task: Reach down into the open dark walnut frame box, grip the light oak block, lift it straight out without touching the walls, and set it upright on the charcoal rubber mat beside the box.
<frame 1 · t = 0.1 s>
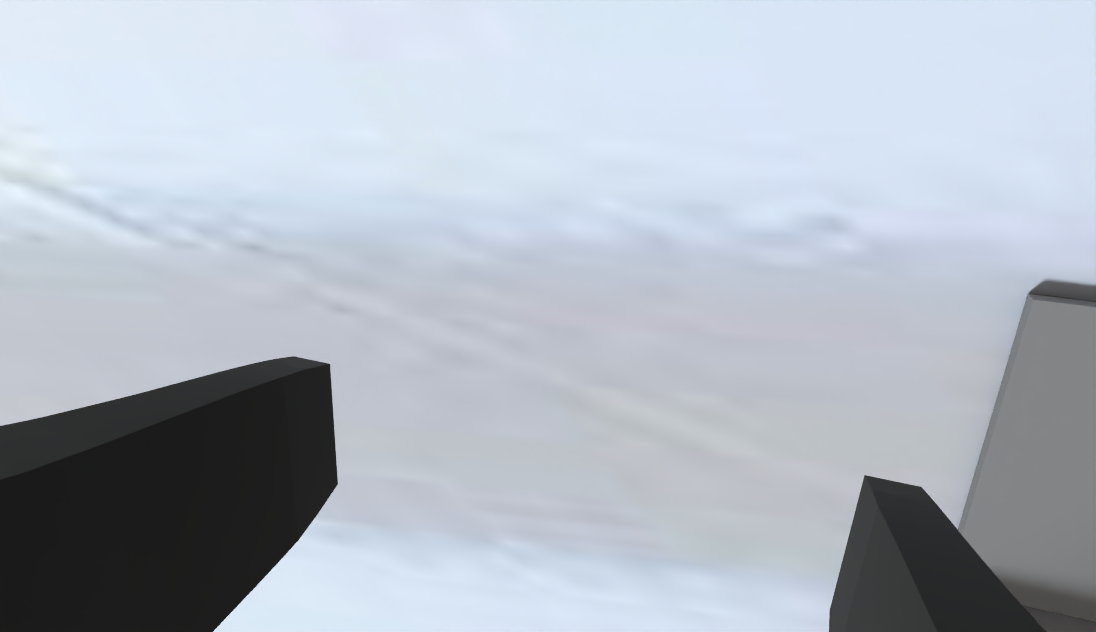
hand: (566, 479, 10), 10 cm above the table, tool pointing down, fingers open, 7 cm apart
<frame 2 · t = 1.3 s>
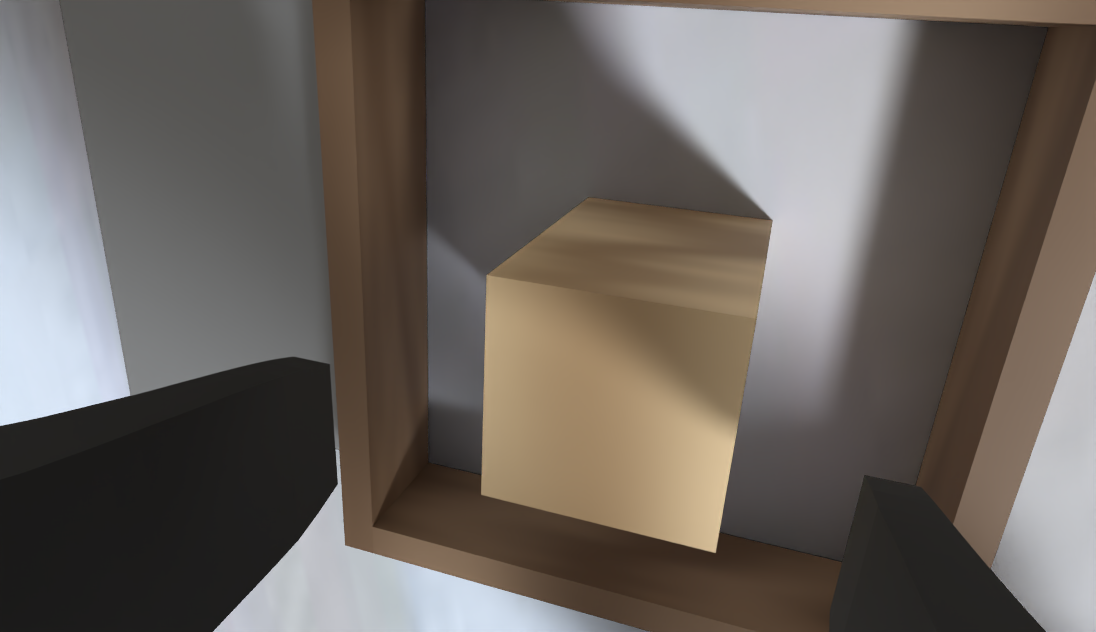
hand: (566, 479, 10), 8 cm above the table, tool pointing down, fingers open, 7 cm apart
oak block: (641, 343, 14), in the frame box
mat: (225, 225, 20), on the table
frame box: (666, 295, 17), on the table
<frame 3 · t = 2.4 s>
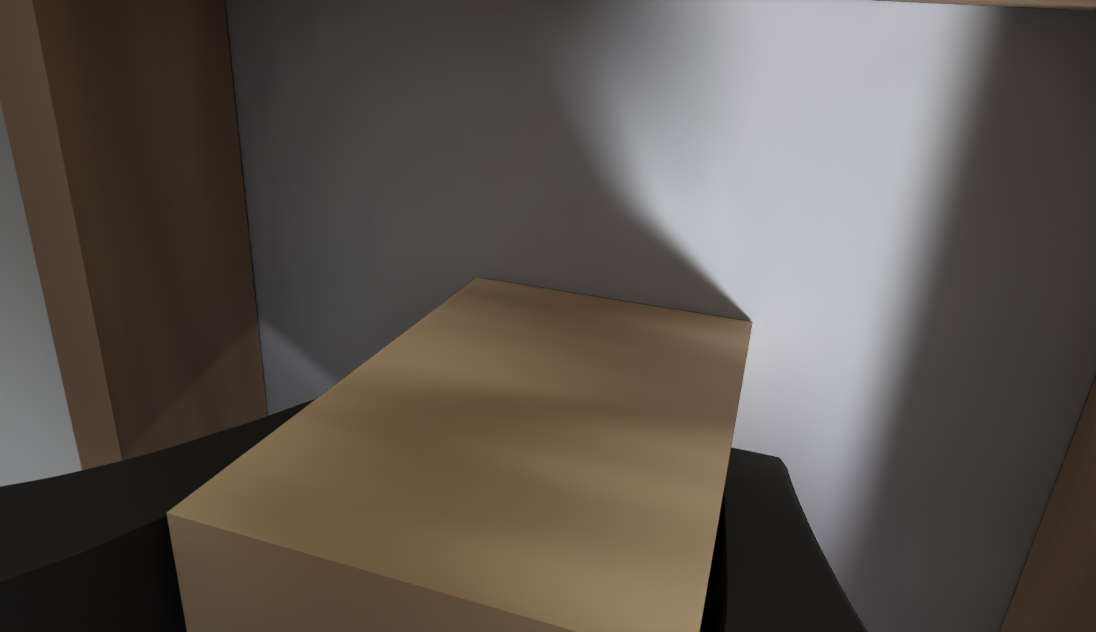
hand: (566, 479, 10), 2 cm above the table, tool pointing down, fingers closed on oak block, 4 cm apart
oak block: (531, 544, 8), in the frame box, touching gripper
mat: (0, 297, 14), on the table
frame box: (596, 422, 11), on the table
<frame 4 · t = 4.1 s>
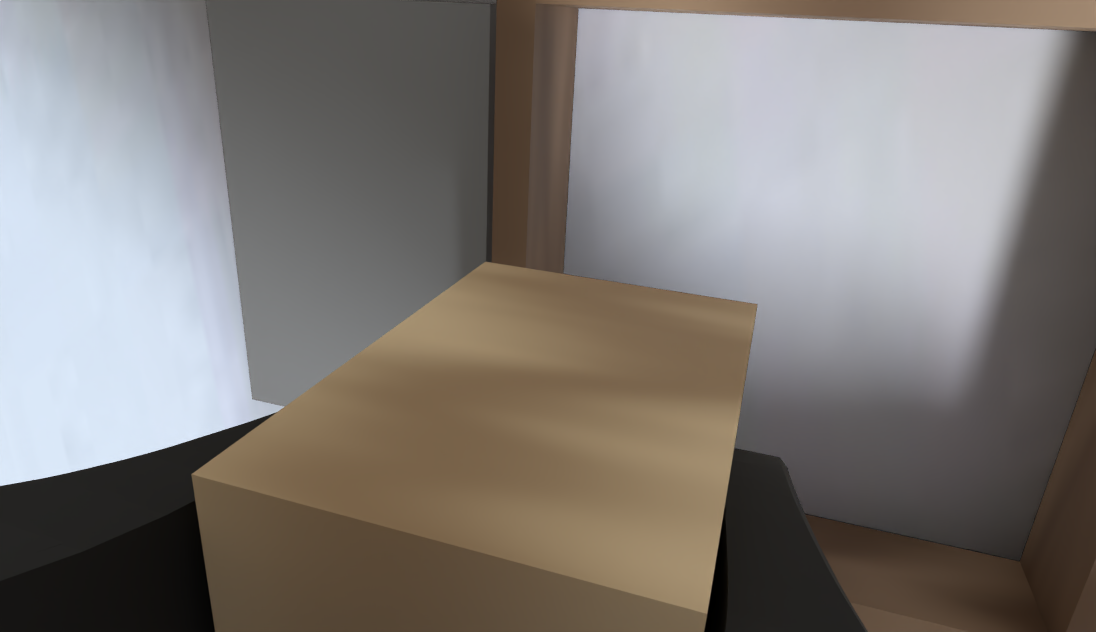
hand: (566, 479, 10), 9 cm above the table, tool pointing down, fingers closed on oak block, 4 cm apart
oak block: (541, 519, 9), point 11 cm above the table, touching gripper
mat: (359, 230, 21), on the table
frame box: (806, 294, 17), on the table
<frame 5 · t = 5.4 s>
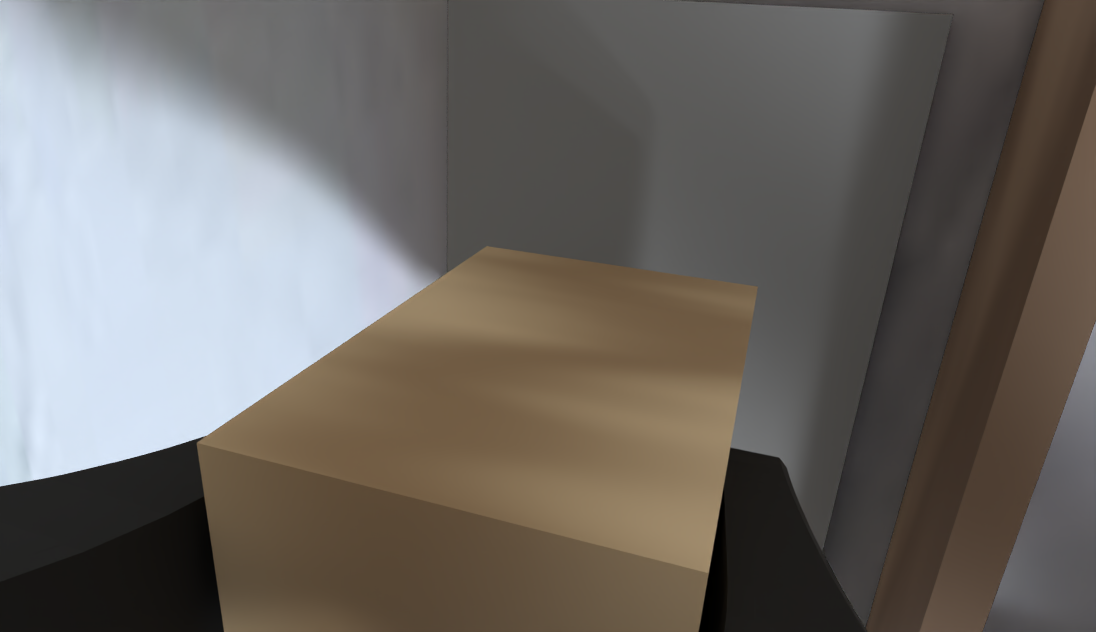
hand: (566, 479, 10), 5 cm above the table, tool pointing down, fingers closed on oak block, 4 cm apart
oak block: (543, 497, 9), point 6 cm above the table, touching gripper
mat: (643, 336, 14), on the table
when the fingers open (3 cm above the table, at t = 6.1 s): oak block drops 1 cm, resting on mat.
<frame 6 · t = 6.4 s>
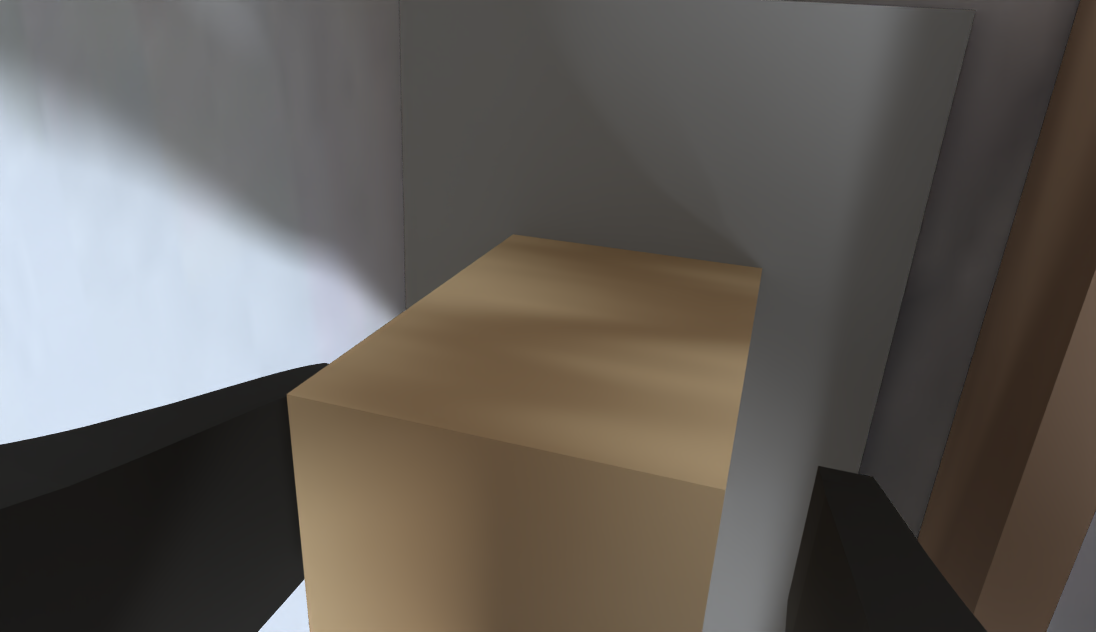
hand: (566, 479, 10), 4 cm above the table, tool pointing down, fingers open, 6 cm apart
oak block: (571, 456, 10), on the mat
mat: (623, 370, 13), on the table
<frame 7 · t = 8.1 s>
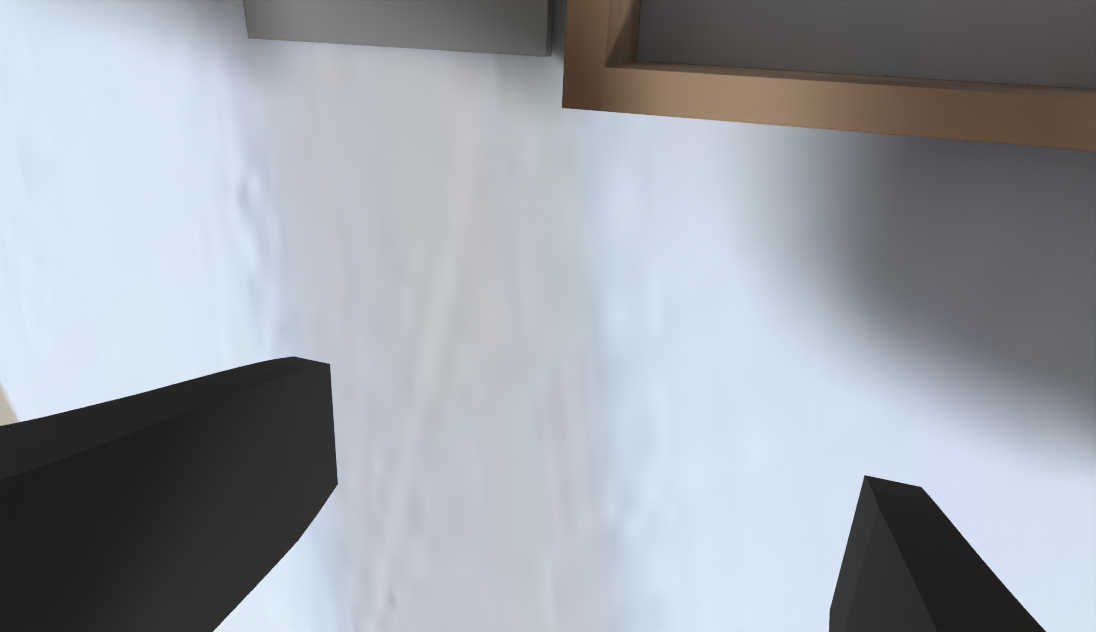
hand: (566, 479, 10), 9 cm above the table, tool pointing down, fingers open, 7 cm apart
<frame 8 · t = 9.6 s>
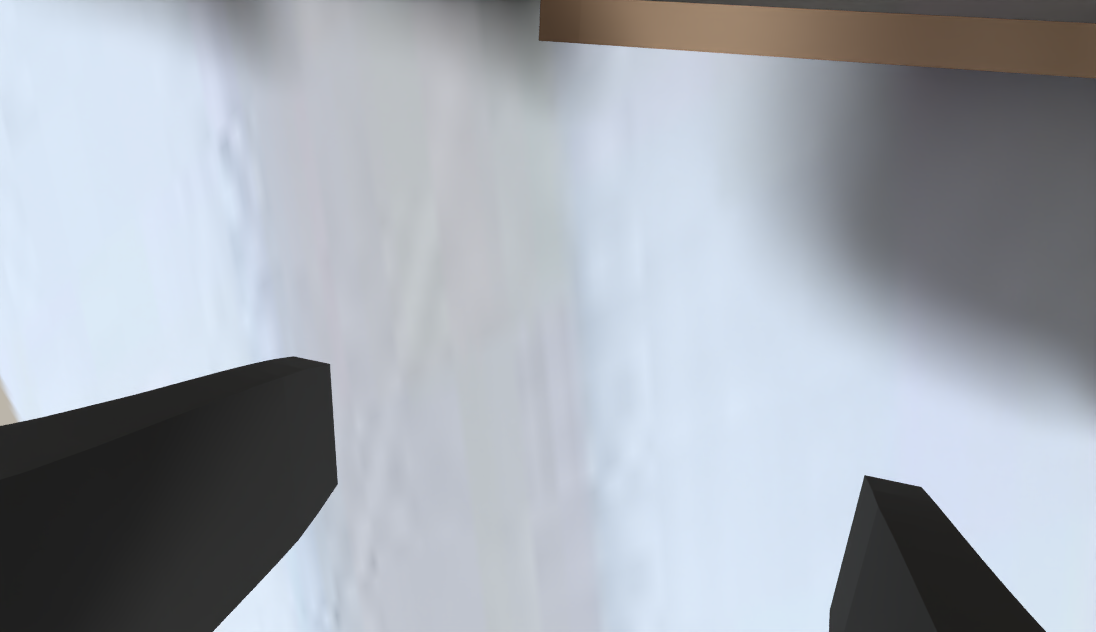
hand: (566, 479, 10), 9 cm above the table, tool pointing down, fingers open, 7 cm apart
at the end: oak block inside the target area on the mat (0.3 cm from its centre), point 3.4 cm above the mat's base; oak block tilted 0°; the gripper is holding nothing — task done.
